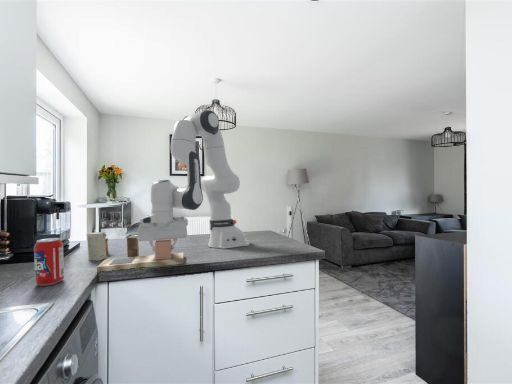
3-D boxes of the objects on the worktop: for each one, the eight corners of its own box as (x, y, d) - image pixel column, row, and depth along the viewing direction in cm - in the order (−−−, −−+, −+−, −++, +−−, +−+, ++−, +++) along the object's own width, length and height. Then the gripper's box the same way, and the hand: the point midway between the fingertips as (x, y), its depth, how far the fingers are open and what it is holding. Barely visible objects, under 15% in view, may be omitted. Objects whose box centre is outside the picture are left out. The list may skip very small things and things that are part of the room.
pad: (135, 257, 115) (135, 256, 115) (131, 262, 106) (131, 262, 106) (115, 259, 113) (115, 258, 113) (109, 264, 104) (109, 264, 104)
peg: (138, 257, 123) (138, 235, 123) (137, 259, 119) (136, 237, 119) (129, 258, 122) (128, 236, 122) (127, 260, 118) (126, 237, 118)
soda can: (67, 282, 91) (65, 238, 91) (37, 289, 85) (35, 242, 85) (61, 277, 96) (59, 236, 96) (33, 283, 91) (31, 240, 90)
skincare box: (106, 258, 123) (105, 232, 122) (99, 261, 118) (98, 233, 118) (95, 257, 124) (94, 231, 124) (87, 260, 120) (86, 233, 120)
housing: (171, 253, 118) (171, 238, 118) (170, 258, 111) (170, 241, 111) (157, 255, 117) (156, 239, 117) (155, 259, 109) (154, 242, 109)
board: (183, 256, 122) (182, 241, 122) (183, 263, 110) (182, 246, 110) (105, 263, 113) (105, 247, 113) (96, 272, 102) (96, 254, 102)
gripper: (187, 215, 119) (188, 246, 119) (138, 218, 114) (139, 250, 114) (187, 217, 113) (188, 249, 113) (135, 219, 108) (136, 253, 108)
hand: (163, 249), depth 114 cm, fingers closed on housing, 6 cm apart
